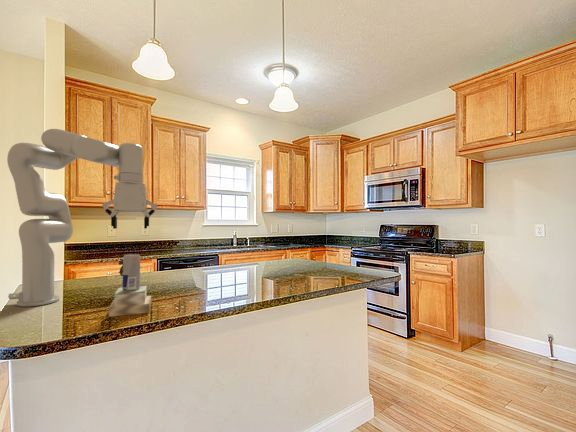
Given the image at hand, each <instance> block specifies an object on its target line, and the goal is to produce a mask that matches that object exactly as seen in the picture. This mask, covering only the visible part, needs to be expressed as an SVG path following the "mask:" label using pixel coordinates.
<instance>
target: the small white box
mask: <svg viewBox="0 0 576 432" xmlns="http://www.w3.org/2000/svg"><path fill="white" fill-rule="evenodd" d="M147 293H148V292H147V285H140V288H139V289H138V290H134V291H124V290H123V287H118V289H117V290H116V291H115V292H114V299H113V300H112V302H111V303H110V304H109V306H108V317H118V316H120V317H121V316H128V315H129V316H130V315H139V314H148V313H149V314H150V311H151V305H152V295H147Z"/></svg>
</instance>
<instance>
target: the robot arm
mask: <svg viewBox="0 0 576 432" xmlns="http://www.w3.org/2000/svg"><path fill="white" fill-rule="evenodd" d="M40 141H41V143H42V144H43V145H41V144H36V143H30V142H19V143H16V144H13V145H12V146H11V147H10V149H9V151H8V152H7V158H6V159H7V160H6V161H7V167H8V169H9V171H10V174H11V176H12V179H13V181H14V185H15V186H14V187H15V192H16V196H17V198H16V199H17V201H18V202H17V203H18V207H19V210H20V212H21V213H22V214H23V215H25V216H28V217H48V218H33V219H31V218H30V219H28V220H25V221H24V222H22V223H21V224H20V226H19V227H18V236H19V241H20V244H21V254H22V255H21V258H22V259H21V263H22V265H21V268H22V269H21V270H22V271H21V272H22V273H21V274H22V276H21V278H22V280H21V281H22V282H21V286H22V288H21V289H22V290H21V291H20V292H18V293H17V292H15V293H13V292H12V293H9V294H8V297H7V298H8V299H9V300H17V301H16V306H17V307H22V308H23V307H24V308H25V307H38V306H44V305H49V304H53V303H55V302H58V301H59V300H60V296H59V295H56V294H55V252H54V251H53V249H52V246H50V244H55V243H64V242H67V241H70V239H71V238H72V236H73V233H74V227H73V222H72V217H71V212H70V208H69V204H68V201H67V199H66V198H65V196H64V195H61V194H60V193H56V192H48V191H46V188H45V185H44V180H43V178H42V177H41V175H40V174H39V173H38V172H37V170H36V169H35V168H41V169H46V170H53V171H55V170H56V171H57V170H61V169H63V168H65V167H66V166H68V165H70V164H71V163H72V162H74V161H75V160H77V159H82V160H86V161H89V162H92V163H97V164H101V165H106V166H111V167H116V168H118V174H117V175H113V180H117V181H118V182H115V187H114V192H113V193H114V194H113V199H110V200H108V201H106V202H103V203H102V204H101V205H102V207H103V209H104V211H105V213H107V215H109V216H110V217H111V220H110V223H111V224H110V226H111V227H112V229H115V230H116V229H118V217H117V214H119V213H120V212H123V213H124V212H127V213H128V212H132V213H138V212H139V213H143V215H144V219H143V221H144V222H143V223H144V225H143V227H144V229H147V228H148V227H150V217H151V216H152V215H153V214H154V213H155V212H156V210H157V208H158V207H159V206H158V205H157V204H156V203H154V202H152V201H150V200H148V199H147V189H146V184H145V183H143V182H144V180H143V179H144V168H143V167H144V149H143V146H141V145H140V144H137V143H130V142H124V143H121V144H120V145H116V144H113V143H109V142H106V141H103V140H100V139H94V138H91V137H87V136H85V135H83V134H79V133H75V132H71V131H67V130H64V129H59V128H49V129H47V130H45V131H43V132H42V133H41V137H40ZM34 167H35V168H34ZM111 205H113V211H112V210H111V209H110V208H109V207H110V206H111ZM148 205H149V206H151V207H152V208H151V210H150V211H149V212H148V211H147V208H148Z"/></svg>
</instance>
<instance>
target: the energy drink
mask: <svg viewBox="0 0 576 432" xmlns="http://www.w3.org/2000/svg"><path fill="white" fill-rule="evenodd" d="M122 258H123V259H122V260H123V276H122V282H123V286H122V288H123V290H124V291H134V290H138V289H139V288H140V286H141V255H140V254H138V253H128V254H124V255H123V257H122Z"/></svg>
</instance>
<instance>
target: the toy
mask: <svg viewBox="0 0 576 432" xmlns="http://www.w3.org/2000/svg"><path fill="white" fill-rule="evenodd" d="M118 265H119V266H121V267H120V268H119V275H120V276H121V277H123V259H120V260H119V262H118ZM120 286H121V287H123V281H121V284H120Z"/></svg>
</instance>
